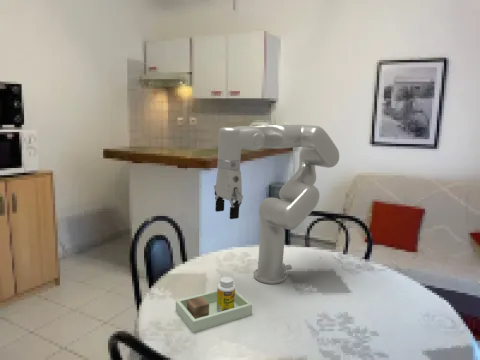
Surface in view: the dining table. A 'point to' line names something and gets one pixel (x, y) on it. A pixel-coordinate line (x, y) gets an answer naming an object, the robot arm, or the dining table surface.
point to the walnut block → (198, 307)
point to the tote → (213, 311)
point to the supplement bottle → (225, 294)
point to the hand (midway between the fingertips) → (226, 214)
